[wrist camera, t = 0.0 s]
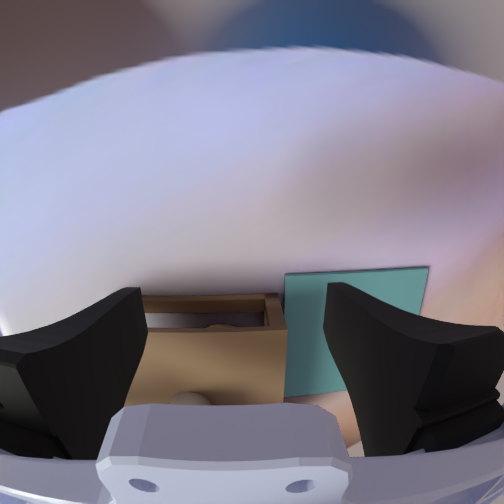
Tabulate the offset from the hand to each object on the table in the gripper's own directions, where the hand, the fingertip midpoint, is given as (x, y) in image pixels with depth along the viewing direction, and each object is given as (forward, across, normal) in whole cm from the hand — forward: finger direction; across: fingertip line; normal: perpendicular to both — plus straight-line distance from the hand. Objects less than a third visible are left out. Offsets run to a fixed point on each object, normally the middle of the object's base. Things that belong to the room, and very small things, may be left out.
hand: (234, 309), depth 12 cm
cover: (+10, +4, +11) cm, 15 cm away
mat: (+10, -10, +9) cm, 16 cm away
